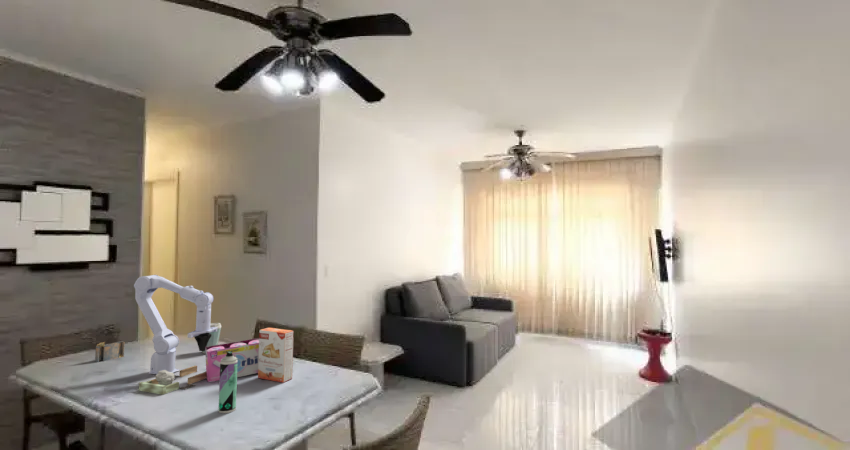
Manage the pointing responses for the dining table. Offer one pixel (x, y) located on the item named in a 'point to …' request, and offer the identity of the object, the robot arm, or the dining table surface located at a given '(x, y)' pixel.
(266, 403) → the dining table surface
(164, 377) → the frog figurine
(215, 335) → the disposable coffee cup
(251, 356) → the gum box
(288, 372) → the cracker box
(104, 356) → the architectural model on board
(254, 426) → the dining table surface
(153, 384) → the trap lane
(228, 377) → the spray can
